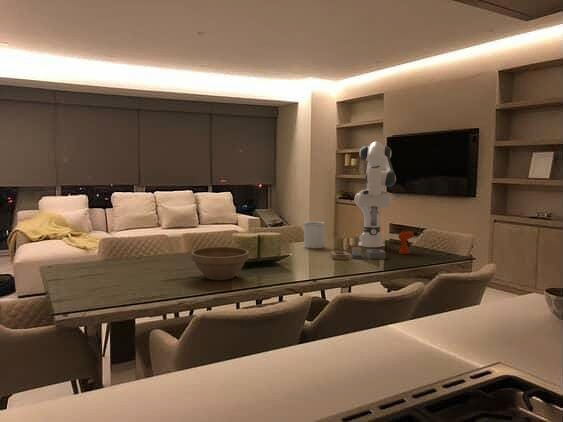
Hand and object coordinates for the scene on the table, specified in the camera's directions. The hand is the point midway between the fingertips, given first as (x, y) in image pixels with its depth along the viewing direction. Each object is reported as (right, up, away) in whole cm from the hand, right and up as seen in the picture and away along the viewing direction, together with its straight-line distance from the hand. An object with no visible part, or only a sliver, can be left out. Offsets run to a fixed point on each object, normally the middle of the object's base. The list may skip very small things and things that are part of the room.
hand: (373, 213), depth 284 cm
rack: (-21, -27, 0) cm, 34 cm away
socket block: (+2, -27, +3) cm, 27 cm away
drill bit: (0, -7, +1) cm, 7 cm away
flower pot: (-88, -32, -53) cm, 108 cm away
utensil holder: (-34, -24, +42) cm, 59 cm away
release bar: (-10, -27, +2) cm, 29 cm away
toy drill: (+28, -26, +19) cm, 43 cm away
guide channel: (-10, -27, +5) cm, 29 cm away
